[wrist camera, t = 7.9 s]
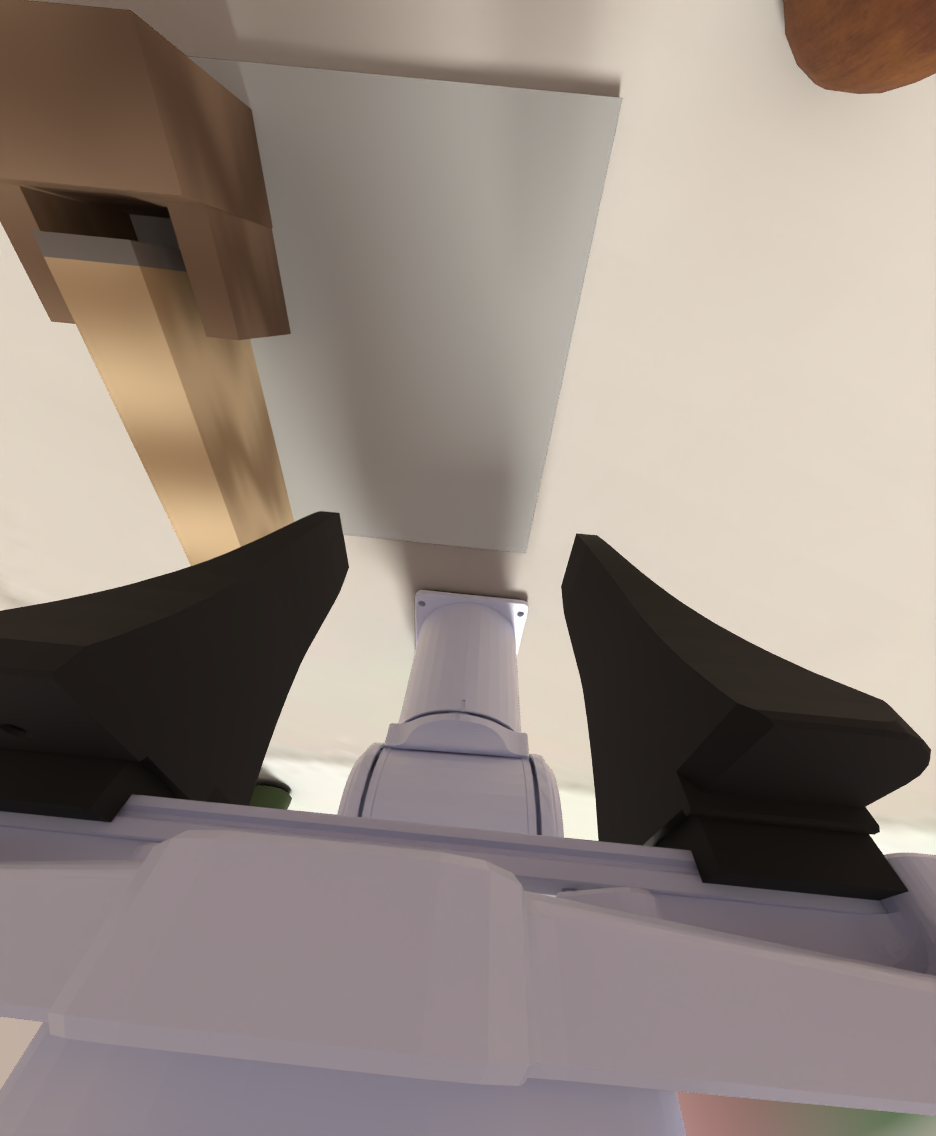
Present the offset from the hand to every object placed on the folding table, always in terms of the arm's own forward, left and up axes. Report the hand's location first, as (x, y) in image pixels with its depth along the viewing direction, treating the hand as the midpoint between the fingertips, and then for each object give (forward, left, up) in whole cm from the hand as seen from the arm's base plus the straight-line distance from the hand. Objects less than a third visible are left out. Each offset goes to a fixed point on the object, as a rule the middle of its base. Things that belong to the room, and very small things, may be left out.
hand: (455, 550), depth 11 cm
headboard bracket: (+7, +12, -10) cm, 17 cm away
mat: (+3, +7, -10) cm, 13 cm away
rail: (0, +12, -10) cm, 15 cm away
